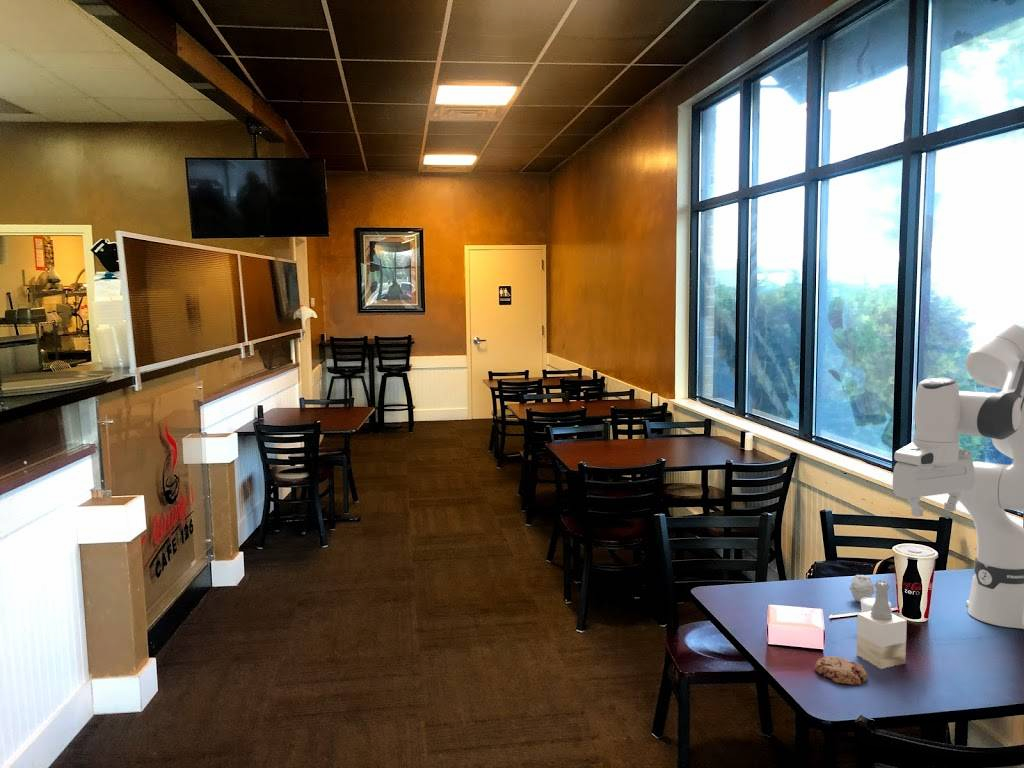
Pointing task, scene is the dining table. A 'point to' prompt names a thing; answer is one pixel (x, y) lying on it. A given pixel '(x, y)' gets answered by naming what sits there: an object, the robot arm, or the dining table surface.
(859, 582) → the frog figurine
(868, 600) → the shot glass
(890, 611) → the rook chess piece
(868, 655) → the lower block
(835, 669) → the cookie
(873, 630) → the upper block
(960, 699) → the dining table surface
